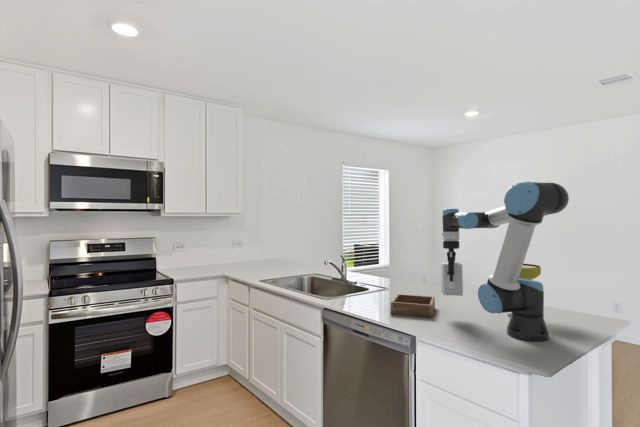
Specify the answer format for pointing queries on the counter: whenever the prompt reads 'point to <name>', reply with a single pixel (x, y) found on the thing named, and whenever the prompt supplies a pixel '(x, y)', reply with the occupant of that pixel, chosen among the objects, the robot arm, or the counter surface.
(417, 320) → the counter surface
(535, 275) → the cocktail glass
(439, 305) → the counter surface
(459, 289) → the supplement box
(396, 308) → the walnut box
